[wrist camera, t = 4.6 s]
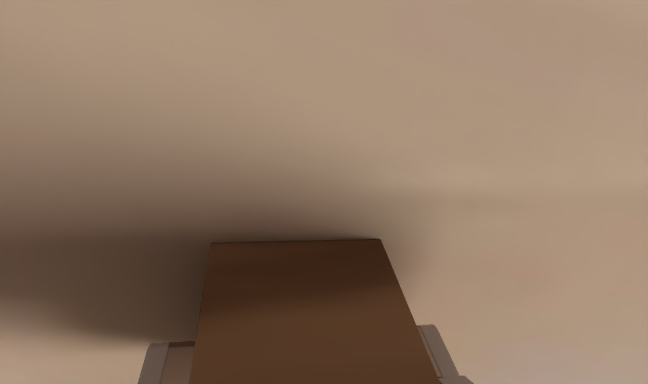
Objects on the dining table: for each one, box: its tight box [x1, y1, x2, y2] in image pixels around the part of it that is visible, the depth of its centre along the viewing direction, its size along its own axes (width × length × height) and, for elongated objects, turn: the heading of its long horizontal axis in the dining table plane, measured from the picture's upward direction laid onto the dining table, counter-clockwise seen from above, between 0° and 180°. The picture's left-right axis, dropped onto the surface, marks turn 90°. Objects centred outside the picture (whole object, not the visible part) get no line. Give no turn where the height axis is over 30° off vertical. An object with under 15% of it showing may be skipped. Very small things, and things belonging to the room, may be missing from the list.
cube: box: [189, 240, 440, 384], centre depth 10 cm, size 5×5×5 cm
